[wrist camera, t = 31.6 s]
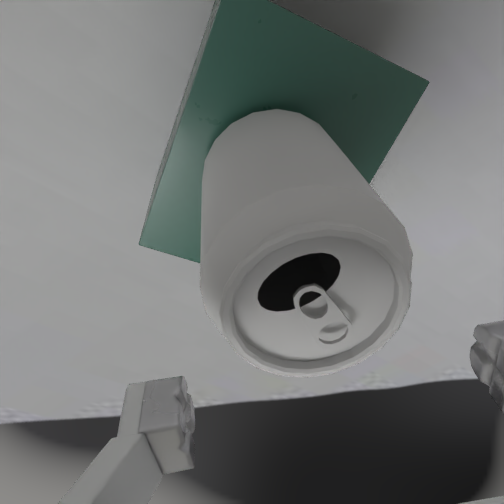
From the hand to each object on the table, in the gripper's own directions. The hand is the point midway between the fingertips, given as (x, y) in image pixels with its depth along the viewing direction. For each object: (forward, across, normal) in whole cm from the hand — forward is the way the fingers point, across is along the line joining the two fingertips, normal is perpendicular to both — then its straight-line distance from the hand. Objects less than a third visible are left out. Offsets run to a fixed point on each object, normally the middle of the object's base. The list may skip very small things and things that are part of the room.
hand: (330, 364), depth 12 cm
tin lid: (+15, 0, 0) cm, 15 cm away
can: (+14, 0, 0) cm, 14 cm away
